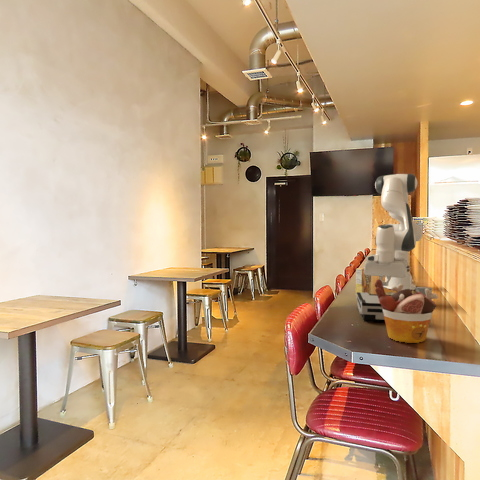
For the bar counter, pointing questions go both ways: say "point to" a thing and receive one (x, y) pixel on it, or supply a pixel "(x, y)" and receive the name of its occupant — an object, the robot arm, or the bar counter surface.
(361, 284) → the candy box
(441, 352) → the bar counter surface
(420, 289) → the grey small irregular piece
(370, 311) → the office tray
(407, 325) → the bucket of meat
